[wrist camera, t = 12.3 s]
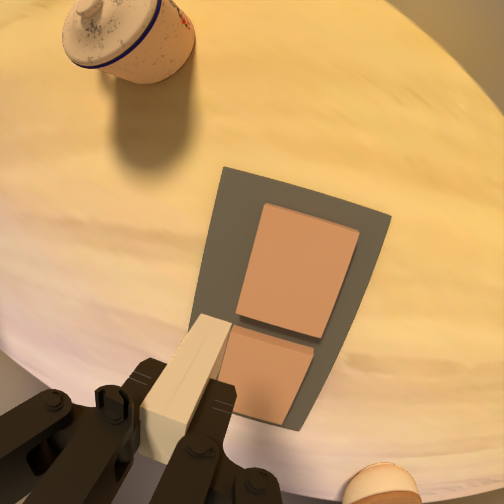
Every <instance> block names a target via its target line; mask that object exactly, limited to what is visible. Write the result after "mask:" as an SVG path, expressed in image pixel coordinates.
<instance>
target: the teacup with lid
mask: <svg viewBox="0 0 504 504" xmlns="http://www.w3.org/2000/svg"><path fill="white" fill-rule="evenodd" d="M194 39H195V32H194V27H193V24H192V22H191V20H190V19H189V18H188V17H187V15H186V14H185V13H184V12H183V11H182V10H181V9H180V8H179V7H178V6H177V5H176V4H175V3H174V2H173V1H172V0H76V1H75V3H74V4H73V6H72V7H71V9H70V11H69V13H68V15H67V17H66V20H65V23H64V26H63V32H62V42H63V47H64V50H65V52H66V54H67V56H68V57H69V58H70V60H71V61H72V62H73V63H74V64H76V65H78V66H80V67H83V68H88V69H98V70H100V71H103V72H106V73H109V74H112V75H114V76H117V77H120V78H122V79H125V80H128V81H130V82H133V83H136V84H153V83H156V82H159V81H162V80H164V79H166V78H168V77H169V76H171V75H172V74H174V73H175V72H176V71H177V70H179V69H180V68H181V66H182V65H183V64H184V63H185V62H186V60H187V59H188V57H189V55H190V53H191V51H192V48H193V45H194Z"/></svg>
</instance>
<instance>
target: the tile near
mask: <svg viewBox="0 0 504 504" xmlns="http://www.w3.org/2000/svg"><path fill="white" fill-rule="evenodd" d="M359 234H360V233H359V232H358V230H356V229H353V228H350V227H347V226H344V225H340V224H337V223H334V222H331V221H327V220H324V219H321V218H318V217H314V216H311V215H308V214H304V213H301V212H297V211H294V210H291V209H287V208H284V207H280V206H277V205H273V204H270V203H265V204H264V207H263V211H262V215H261V219H260V222H259V226H258V230H257V234H256V238H255V241H254V245H253V249H252V253H251V256H250V260H249V264H248V268H247V271H246V275H245V279H244V283H243V287H242V290H241V294H240V298H239V302H238V305H237V309H236V314H239V315H243V316H246V317H249V318H252V319H256V320H259V321H262V322H265V323H269V324H272V325H276V326H279V327H282V328H286V329H289V330H293V331H296V332H300V333H303V334H307V335H310V336H314V337H318V338H321V337H322V334H323V332H324V329H325V327H326V324H327V322H328V319H329V317H330V314H331V312H332V309H333V307H334V304H335V301H336V299H337V296H338V293H339V291H340V288H341V285H342V283H343V280H344V277H345V274H346V272H347V269H348V266H349V263H350V260H351V257H352V255H353V252H354V249H355V246H356V243H357V240H358V237H359Z"/></svg>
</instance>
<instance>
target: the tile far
mask: <svg viewBox="0 0 504 504" xmlns="http://www.w3.org/2000/svg"><path fill="white" fill-rule="evenodd" d="M313 356H314V348H312V347H308V346H304V345H301V344H297V343H294V342H290V341H287V340H283V339H280V338H276V337H273V336H270V335H266V334H263V333H260V332H256V331H253V330H250V329H246V328H243V327H240V326H237V325H234V326H233V328H232V330H231V332H230V336H229V340H228V343H227V347H226V351H225V355H224V359H223V362H222V366H221V370H220V374H219V377H218V381H221V382H224V383H227V384H231V385H234V386H235V389H236V393H237V398H236V401H235V405H234V408H233V411H234V412H237V413H240V414H243V415H247V416H250V417H254V418H257V419H261V420H265V421H268V422H272V423H276V424H280V425H282V423H283V421H284V419H285V417H286V415H287V413H288V411H289V409H290V407H291V405H292V402H293V400H294V398H295V396H296V394H297V392H298V390H299V387H300V385H301V383H302V381H303V379H304V376H305V374H306V372H307V370H308V367H309V365H310V363H311V360H312V358H313Z"/></svg>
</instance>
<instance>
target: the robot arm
mask: <svg viewBox="0 0 504 504" xmlns="http://www.w3.org/2000/svg"><path fill="white" fill-rule="evenodd" d="M231 325H232V323H230V322H227V321H223V320H220V319H217V318H214V317H211V316H208V315H204V314H200V316H199V317H198V319H197V320H196V322H195V323H194V325H193V326H192V328H191V329H190V331H189V332H188V334H187V335H186V337H185V338H184V340H183V341H182V343H181V344H180V346H179V347H178V349H177V350H176V352H175V353H174V355H173V356H172V358H171V360H170V361H169V363H168V364H166V363H163V362H161V361H158V360H156V359H153V358H148V359H146V360H144V361H142V362H140V363H139V365H138V366H137V367H136V369H135V370H134V372H132V374H131V375H130V376H129V378H128V379H127V380H126V381H125V383H124V384H123V385H122V387H120V386H116V385H105V386H101V387H99V388H98V389H96V390H95V401H96V407H86V406H82V405H77V404H73V403H72V402H71V399H70V398H69V396H68V395H67V394H66V393H64V392H62V391H60V390H56V389H48V390H45V391H42V392H40V393H39V394H37V395H35V396H34V397H32V398H30V399H29V400H27V401H25V402H23V403H22V404H20V405H18V406H17V407H15V408H13V409H11V410H10V411H8V412H6V413H5V414H3V415H2V416H0V504H15V503H17V502H18V501H19V500H21V499H22V498H23V497H25V496H26V495H28V494H29V493H30V492H31V493H30V494H29V496H28V497H27V498H26V500H25V501H24V502H23V504H111V503H112V501H113V499H114V497H115V495H116V494H117V492H118V490H119V488H120V486H121V484H122V483H123V481H124V479H125V477H126V476H127V474H128V472H129V470H130V468H131V467H132V465H133V460H134V454H135V452H136V451H137V449H138V447H139V453H140V454H142V455H144V456H146V457H149V458H151V459H154V460H156V461H159V462H161V463H164V464H167V466H166V468H165V471H164V473H163V475H162V477H161V479H160V481H159V484H158V485H157V488H156V490H155V492H154V494H153V496H152V499H151V500H150V503H149V504H282V499H281V493H280V487H279V483H278V481H277V478H276V477H275V476H274V475H273V474H272V473H270V472H268V471H267V470H265V469H261V468H256V467H254V468H247V469H243V468H242V467H240V466H238V465H236V464H235V463H233V462H232V461H231V460H230V459H229V458H228V457H227V456H226V454H225V453H224V450H223V441H224V437H225V434H226V431H227V428H228V424H229V421H230V418H231V415H232V411H233V408H234V405H235V401H236V398H237V393H236V389H235V386H234V385H231V384H227V383H224V382H221V381H218V380H215V379H216V377H217V374H218V372H219V370H220V367H221V363H222V359H223V355H224V352H225V348H226V344H227V340H228V336H229V332H230V329H231Z"/></svg>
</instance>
